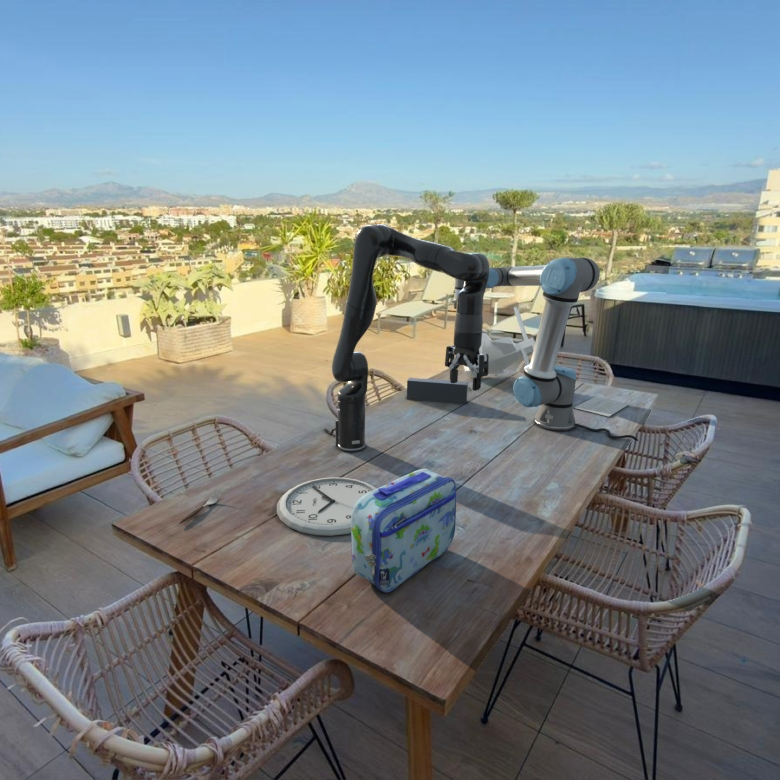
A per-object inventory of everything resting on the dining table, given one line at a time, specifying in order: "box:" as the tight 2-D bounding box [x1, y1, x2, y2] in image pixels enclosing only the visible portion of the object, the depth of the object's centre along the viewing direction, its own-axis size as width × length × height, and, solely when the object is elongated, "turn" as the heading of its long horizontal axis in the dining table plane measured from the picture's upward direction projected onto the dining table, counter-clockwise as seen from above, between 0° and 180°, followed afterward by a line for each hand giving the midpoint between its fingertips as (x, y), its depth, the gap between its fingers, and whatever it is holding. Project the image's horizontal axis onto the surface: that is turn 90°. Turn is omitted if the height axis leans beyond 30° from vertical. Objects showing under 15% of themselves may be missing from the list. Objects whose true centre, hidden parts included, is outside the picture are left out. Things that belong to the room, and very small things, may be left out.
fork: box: [178, 489, 223, 525], centre depth 139 cm, size 3×16×2 cm, turn 160°
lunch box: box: [350, 468, 457, 593], centre depth 114 cm, size 26×11×21 cm, turn 134°
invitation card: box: [573, 396, 629, 418], centre depth 226 cm, size 21×1×15 cm
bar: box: [406, 377, 469, 405], centre depth 230 cm, size 26×5×9 cm, turn 78°
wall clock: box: [276, 476, 378, 537], centre depth 142 cm, size 30×2×30 cm
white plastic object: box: [463, 306, 536, 377], centre depth 260 cm, size 37×45×31 cm
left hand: (464, 386), depth 147 cm, fingers open, 8 cm apart
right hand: (460, 349), depth 223 cm, fingers open, 13 cm apart
